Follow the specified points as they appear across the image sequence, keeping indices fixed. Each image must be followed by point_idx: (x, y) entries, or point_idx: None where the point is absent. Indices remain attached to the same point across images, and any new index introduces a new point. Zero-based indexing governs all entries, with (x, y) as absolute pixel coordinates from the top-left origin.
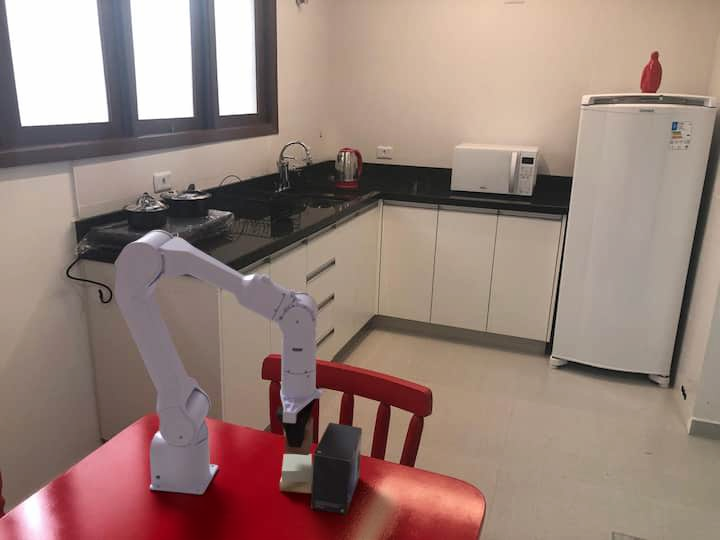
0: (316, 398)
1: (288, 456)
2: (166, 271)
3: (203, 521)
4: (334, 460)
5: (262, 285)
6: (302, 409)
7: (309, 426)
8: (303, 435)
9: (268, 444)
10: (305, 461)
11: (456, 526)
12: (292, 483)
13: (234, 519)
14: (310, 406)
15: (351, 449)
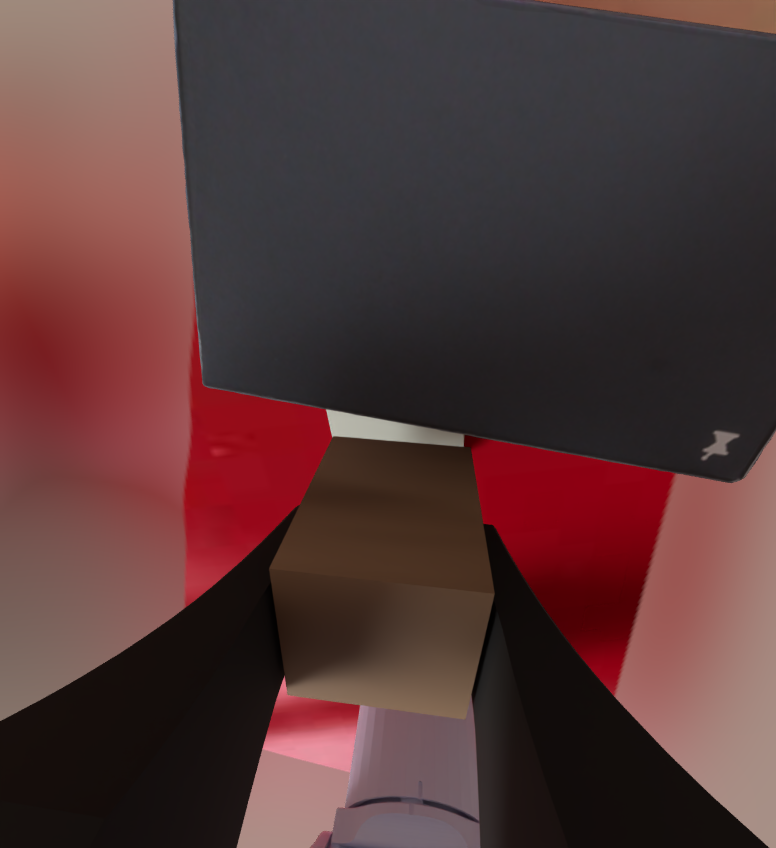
0: (101, 832)
1: None
2: None
3: (590, 612)
4: None
5: None
6: (246, 701)
7: (440, 590)
8: (530, 595)
9: (218, 515)
10: (388, 421)
11: None
12: (464, 435)
13: (592, 554)
14: (211, 701)
15: (741, 61)
